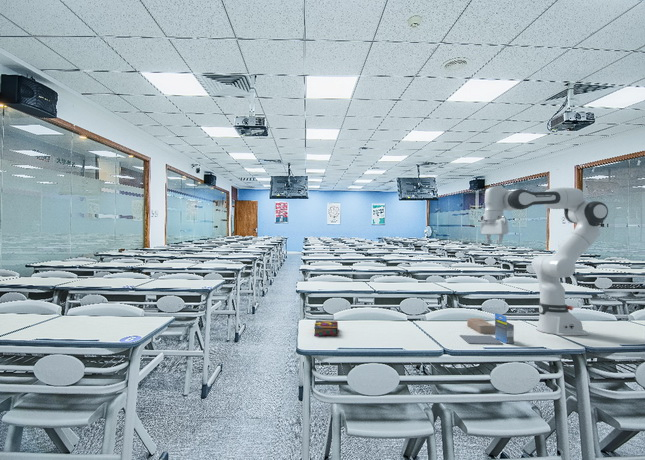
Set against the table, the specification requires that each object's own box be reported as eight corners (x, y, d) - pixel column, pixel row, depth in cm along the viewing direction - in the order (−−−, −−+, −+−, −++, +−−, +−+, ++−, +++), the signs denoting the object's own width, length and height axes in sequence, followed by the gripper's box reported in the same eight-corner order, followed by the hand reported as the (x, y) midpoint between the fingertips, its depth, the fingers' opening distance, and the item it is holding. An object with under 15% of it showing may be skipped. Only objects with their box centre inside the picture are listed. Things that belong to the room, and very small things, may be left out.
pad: (491, 336, 178) (491, 335, 178) (503, 344, 165) (503, 343, 165) (459, 336, 179) (459, 335, 179) (468, 343, 166) (468, 342, 166)
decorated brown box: (337, 329, 191) (337, 319, 192) (337, 337, 175) (337, 327, 175) (315, 329, 192) (315, 319, 192) (313, 337, 176) (313, 326, 176)
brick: (496, 334, 184) (496, 324, 184) (480, 334, 184) (480, 324, 184) (481, 326, 200) (481, 318, 201) (466, 326, 200) (466, 318, 200)
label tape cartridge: (514, 343, 167) (514, 316, 167) (506, 344, 166) (506, 316, 166) (502, 338, 176) (502, 312, 176) (494, 338, 175) (494, 312, 175)
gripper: (511, 215, 181) (512, 243, 180) (489, 217, 201) (489, 243, 201) (499, 215, 180) (499, 243, 180) (478, 217, 201) (478, 243, 200)
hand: (494, 243), depth 191 cm, fingers open, 8 cm apart
